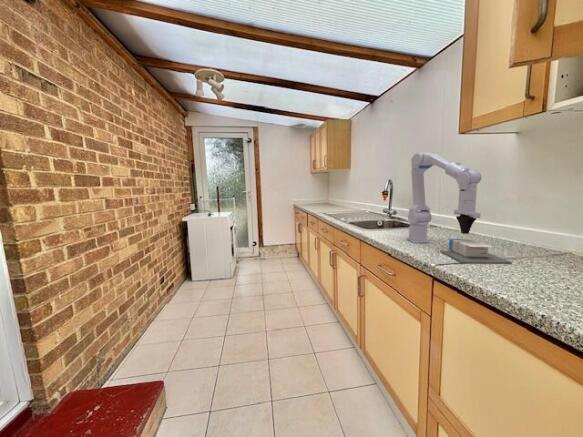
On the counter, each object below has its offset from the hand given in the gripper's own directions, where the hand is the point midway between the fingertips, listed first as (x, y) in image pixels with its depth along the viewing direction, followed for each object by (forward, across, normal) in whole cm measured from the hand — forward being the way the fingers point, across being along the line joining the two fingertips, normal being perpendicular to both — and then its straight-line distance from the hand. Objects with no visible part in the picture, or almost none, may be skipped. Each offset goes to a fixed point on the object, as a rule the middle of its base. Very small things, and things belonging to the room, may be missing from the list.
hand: (464, 233), depth 104 cm
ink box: (+5, -4, 0) cm, 7 cm away
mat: (+8, +6, 0) cm, 10 cm away
